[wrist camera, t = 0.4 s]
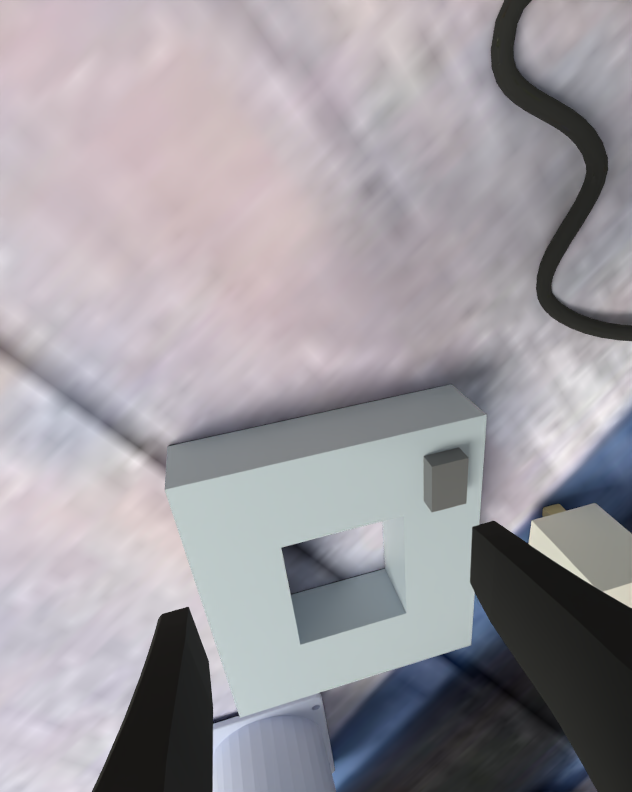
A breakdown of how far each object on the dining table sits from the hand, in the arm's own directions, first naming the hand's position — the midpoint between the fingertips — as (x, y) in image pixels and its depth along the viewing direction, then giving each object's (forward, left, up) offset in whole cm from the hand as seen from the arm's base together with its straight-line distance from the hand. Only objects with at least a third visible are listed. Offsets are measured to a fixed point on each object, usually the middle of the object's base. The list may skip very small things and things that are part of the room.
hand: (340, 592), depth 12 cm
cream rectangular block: (-12, -15, -10) cm, 22 cm away
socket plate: (-8, -2, -10) cm, 13 cm away
